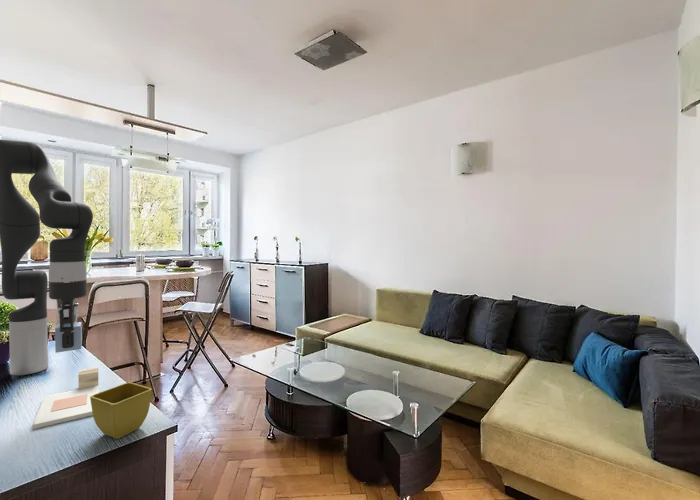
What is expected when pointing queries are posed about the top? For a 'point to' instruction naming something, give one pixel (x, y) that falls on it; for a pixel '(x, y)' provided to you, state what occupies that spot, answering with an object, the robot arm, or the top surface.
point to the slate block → (76, 337)
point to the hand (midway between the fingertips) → (69, 344)
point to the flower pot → (121, 409)
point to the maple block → (88, 378)
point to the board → (65, 407)
